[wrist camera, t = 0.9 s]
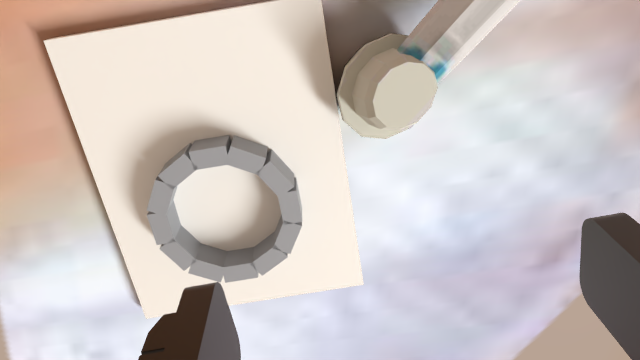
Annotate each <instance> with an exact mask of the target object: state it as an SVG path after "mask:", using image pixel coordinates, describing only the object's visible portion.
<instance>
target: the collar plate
mask: <svg viewBox="0 0 640 360" xmlns="http://www.w3.org/2000/svg"><path fill="white" fill-rule="evenodd" d="M44 44H45V46H46V49H47V52H48V55H49V57H50V60H51V63H52V65H53V68H54V71H55V74H56V76H57V79H58V82H59V84H60V87H61V90H62V92H63V95H64V98H65V101H66V103H67V106H68V109H69V111H70V114H71V117H72V120H73V122H74V125H75V128H76V130H77V133H78V136H79V138H80V141H81V144H82V147H83V149H84V152H85V155H86V157H87V160H88V163H89V166H90V168H91V171H92V174H93V176H94V179H95V182H96V184H97V187H98V190H99V193H100V195H101V198H102V201H103V203H104V206H105V209H106V212H107V214H108V217H109V220H110V222H111V225H112V228H113V230H114V233H115V236H116V239H117V241H118V244H119V247H120V249H121V252H122V255H123V258H124V260H125V263H126V266H127V268H128V271H129V274H130V276H131V279H132V282H133V285H134V287H135V290H136V293H137V295H138V298H139V301H140V304H141V306H142V309H143V312H144V314H145V317H146V319H147V318H154V317H160V316H163V315H164V314H170V313H176V311H177V308H178V305H179V302H180V299H181V296H182V293H183V290H184V289H185V288H186V287H192V286H198V285H203V284H209V283H215V282H219V283H220V284H221V286H222V288H223V290H224V293H225V297H226V300H227V303H228V306H230V305H236V304H243V303H249V302H255V301H262V300H268V299H275V298H281V297H287V296H294V295H300V294H306V293H313V292H319V291H325V290H332V289H338V288H345V287H351V286H357V285H364V284H363V277H362V270H361V264H360V257H359V250H358V243H357V237H356V230H355V223H354V216H353V210H352V203H351V196H350V190H349V183H348V176H347V169H346V163H345V156H344V149H343V143H342V136H341V129H340V122H339V116H338V109H337V102H336V95H335V89H334V82H333V75H332V69H331V62H330V55H329V48H328V42H327V35H326V28H325V22H324V15H323V8H322V1H321V0H271V1H265V2H259V3H253V4H248V5H242V6H236V7H230V8H224V9H218V10H212V11H207V12H201V13H195V14H189V15H183V16H177V17H172V18H166V19H160V20H154V21H148V22H142V23H137V24H131V25H125V26H119V27H113V28H107V29H101V30H96V31H90V32H84V33H78V34H72V35H66V36H61V37H55V38H50V39H47V40H44Z"/></svg>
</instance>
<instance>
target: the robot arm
mask: <svg viewBox="0 0 640 360" xmlns="http://www.w3.org/2000/svg"><path fill="white" fill-rule="evenodd" d="M580 285H581V289H582V292H583V295H584V298H585V300H586V302H587V303H588V305H589V306H590V308H591V309H592V310H593V312H594V313H595V314H596V315H597V317H598V318H599V319H600V320H601V322H602V323H603V324H604V325H605V327H606V328H607V329H608V330H609V332H610V333H611V334H612V335H613V337H614V338H615V339H616V340H617V342H618V343H619V344H620V345H621V347H622V348H623V349H624V350H625V352H626V353H627V354H628V355H629V357H630V358H631V359H632V360H640V224H639V223H637V222H636V221H635V220H634V219H633V218H631V217H630V216H629V215H627V214H625V213H617V214H612V215H606V216H600V217H594V218H589V219H586V220H585V221H584V223H583V226H582V237H581V258H580ZM141 353H142V355H141V356H139V359H138V360H241V354H240V344H239V338H238V334H237V331H236V328H235V325H234V322H233V319H232V315H231V312H230V309H229V306H228V303H227V300H226V297H225V293H224V290H223V288H222V286H221V284H220V283H219V282H215V283H209V284H203V285H198V286H192V287H186V288H185V289H184V290H183V293H182V296H181V299H180V302H179V305H178V308H177V311H176V313H170V314H164V315H163V316H162V317H161V319H160V320H159V321H158V322H157V323H156V324H155V326H154V327H153V328H152V329H151V330H150V331H149V333H148V335H147V338H146V340H145V343H144V346H143V348H142V351H141Z"/></svg>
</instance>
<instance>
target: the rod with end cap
mask: <svg viewBox="0 0 640 360" xmlns="http://www.w3.org/2000/svg"><path fill="white" fill-rule="evenodd" d="M520 1H521V0H438V1H437V3H436V4H435V5H434V6H433V7H432V9H431V10H430V11H429V12H428V13H427V15H426V16H425V17H424V18H423V19H422V21H421V22H420V23H419V24H418V25H417V26H416V28H415V29H414V30H413V31H412V32H411V34H410V35H409V36H408V35H400V34H392V33H390V34H388V35H385V36H383V37H381V38H379V39H376V40H374V41H372V42H370V43H367V44H365V45H364V46H363V47H362V48H360V49H359V50H358V51H357V52H356V54H355V55H354V56H353V57H352V58H351V59H350V61H349V62H348V63H347V64H346V65H345V66H344V67H345V68H344V71H343V75H342V78H341V82H340V85H339V89H338V92H337V99H338V103H339V107H340V112H341V116H342V120H343V121H344V122H345V123H347V124H348V125H349V126H350V127H351V128H352V129H353V130H355V131H356V132H357V133H358V134H359V135H360V136H361V137H371V138H382V139H387V138H389V137H391V136H393V135H396V134H398V133H400V132H402V131H405V130H407V129H409V128H411V127H412V126H413V125H414V124H415V123H417V122H418V121H419V120H420V119H421V117H422V116H423V115H424V114H425V113H426V112H427V111H428V110H429V109H430V108H431V105H432V103H433V100H434V97H435V94H436V91H437V88H438V84H439V83H440V82H441V81H442V80H443V79H444V78H445V77H446V76H447V75H448V74H449V73H450V72H451V71H452V70H453V69H454V68H455V67H456V66H457V65H458V64H459V63H460V62H461V61H462V60H463V59H464V58H465V57H466V56H467V55H468V54H469V53H470V52H471V51H472V50H473V49H474V48H475V47H476V46H477V45H478V44H479V43H480V42H481V41H482V40H483V39H484V38H485V37H486V35H487V34H488V33H489V32H490V31H491V30H492V29H493V28H494V27H495V26H496V25H497V24H498V23H499V22H500V21H501V20H502V19H503V18H504V17H505V16H506V15H507V14H508V13H509V12H510V11H511V10H512V9H513V8H514V7H515V6H516V5H517V4H518V3H519V2H520Z"/></svg>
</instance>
